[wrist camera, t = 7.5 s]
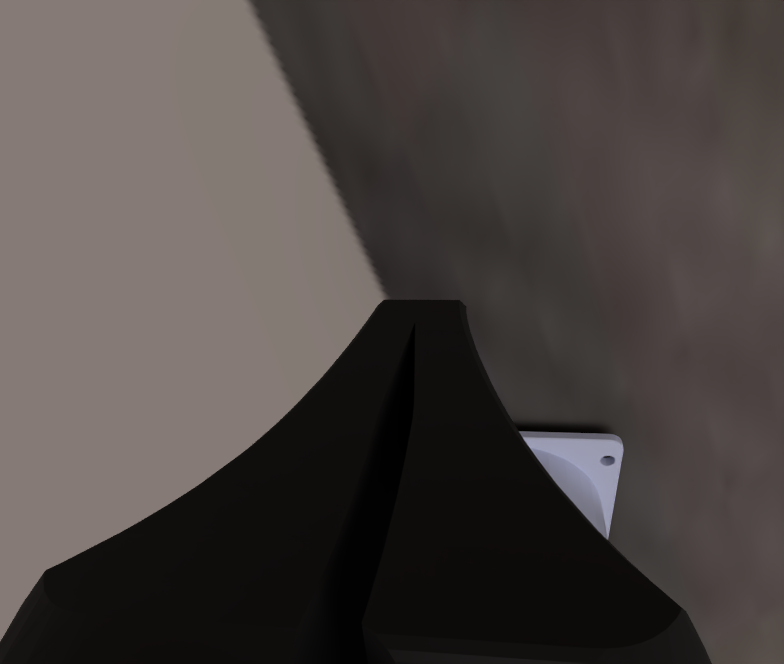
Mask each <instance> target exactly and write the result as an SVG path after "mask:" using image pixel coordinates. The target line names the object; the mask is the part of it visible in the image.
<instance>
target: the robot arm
mask: <svg viewBox="0 0 784 664" xmlns="http://www.w3.org/2000/svg"><path fill="white" fill-rule="evenodd" d="M608 455H609V456H611V457H609V458H603V457H604V456H608ZM622 456H623V444H622V440H621V439H620V438H619V437H618V436H616V435H613V434H596V433H562V432H528V431H518V429H517V428H516V426H515V425H514V423H513V421H512V420H511V418H510V416H509V415H508V413H507V411H506V409H505V408H504V406H503V404H502V402H501V401H500V399H499V397H498V395H497V393H496V391H495V389H494V387H493V385H492V383H491V381H490V379H489V377H488V375H487V373H486V370H485V368H484V366H483V364H482V362H481V360H480V357H479V355H478V352H477V350H476V347H475V344H474V341H473V338H472V335H471V332H470V329H469V325H468V320H467V314H466V306H465V305H464V304H463V303H462V302H461V301H460V300H383V301H382V302H381V303H380V304H379V305H378V306H377V307H376V309H375V311H374V312H373V313H372V315H371V316H370V317H369V319H368V320H367V322H366V323H365V324H364V326H363V327H362V329H361V330H360V331H359V333H358V334H357V335H356V337H355V338H354V339H353V340H352V342H351V343H350V344H349V346H348V347H347V348H346V349H345V350H344V352H343V353H342V354H341V355H340V356H339V358H338V359H337V360H336V361H335V362H334V364H333V365H332V366H331V367H330V369H329V370H328V371H327V372H326V373H325V374H324V376H323V377H322V378H321V379H320V380H319V381H318V382H317V383H316V384H315V385H314V386H313V387H312V388H311V389H310V390H309V392H308V393H307V394H306V395H305V396H304V397H303V398H302V399H301V400H300V401H299V402H298V403H297V404H296V405H295V406H294V408H292V409H291V410H290V411H289V412H288V413H287V414H286V415H285V416H284V417H283V418H282V419H281V420H280V421H279V422H278V423H277V424H276V425H275V426H273V427H272V428H271V429H270V430H269V431H268V432H267V433H266V434H264V435H263V436H262V437H261V438H260V439H259V440H257V441H256V442H255V443H254V444H253V445H252V446H250V447H249V448H248V449H247V450H245V451H244V452H243V453H242V454H240V455H239V456H238V457H236V458H235V459H234V460H232V461H231V462H230V463H228V464H227V465H225V466H224V467H223V468H221V469H220V470H219V471H217V472H216V473H215V474H213V475H212V476H211V477H209V478H208V479H206V480H205V481H204V482H202V483H201V484H199V485H198V486H196V487H195V488H193V489H192V490H190V491H189V492H187V493H186V494H184V495H183V496H181V497H179V498H178V499H176V500H175V501H173V502H172V503H170V504H169V505H167V506H165V507H164V508H162V509H160V510H159V511H157V512H155V513H153V514H152V515H150V516H149V517H147V518H145V519H144V520H142V521H140V522H138V523H137V524H135V525H133V526H131V527H130V528H128V529H126V530H124V531H122V532H121V533H119V534H117V535H115V536H113V537H111V538H109V539H107V540H105V541H103V542H101V543H99V544H97V545H95V546H94V547H91V548H89V549H88V550H86V551H84V552H82V553H80V554H78V555H76V556H74V557H72V558H70V559H68V560H66V561H64V562H62V563H60V564H58V565H56V566H54V567H52V568H50V569H48V570H46V571H45V572H44V573H43V575H42V576H41V578H40V579H39V581H38V582H37V584H36V585H35V586H34V588H33V589H32V591H31V592H30V594H29V595H28V597H27V598H26V599H25V601H24V603H23V604H22V605H21V607H20V609H19V611H18V612H17V614H16V616H15V618H14V619H13V621H12V623H11V624H10V626H9V628H8V629H7V631H6V633H5V635H4V636H3V638H2V640H1V641H0V664H712V663H711V661H710V659H709V656H708V654H707V652H706V650H705V647H704V645H703V643H702V641H701V639H700V638H699V636H698V634H697V632H696V630H695V628H694V626H693V624H692V622H691V620H690V618H689V616H688V614H687V612H686V611H685V610H684V609H683V608H681V607H680V606H679V605H678V604H677V603H676V602H674V601H673V600H672V599H671V598H670V597H669V596H667V595H666V594H665V593H664V592H663V591H662V590H660V589H659V588H658V587H657V586H656V585H655V584H653V583H652V582H651V581H650V580H649V579H648V578H647V577H646V576H645V575H643V574H642V573H641V572H640V571H639V570H638V569H637V568H636V567H635V566H634V565H632V564H631V563H630V562H629V561H628V560H627V559H626V558H625V557H624V556H623V555H622V554H621V553H620V552H619V551H618V550H617V549H616V548H615V547H614V546H613V545H612V544H611V543H610V542H609V541H608V536H609V530H610V525H611V519H612V513H613V507H614V502H615V496H616V490H617V484H618V479H619V473H620V467H621V461H622Z"/></svg>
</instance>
